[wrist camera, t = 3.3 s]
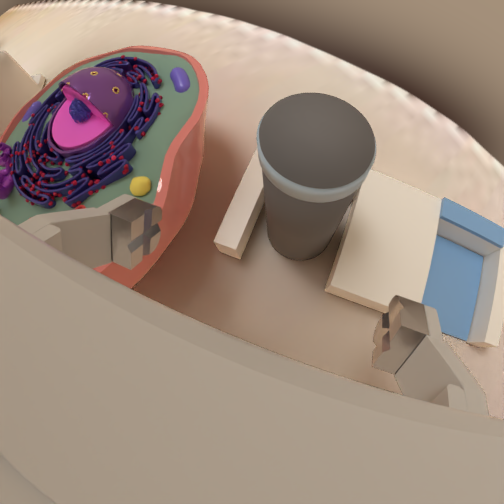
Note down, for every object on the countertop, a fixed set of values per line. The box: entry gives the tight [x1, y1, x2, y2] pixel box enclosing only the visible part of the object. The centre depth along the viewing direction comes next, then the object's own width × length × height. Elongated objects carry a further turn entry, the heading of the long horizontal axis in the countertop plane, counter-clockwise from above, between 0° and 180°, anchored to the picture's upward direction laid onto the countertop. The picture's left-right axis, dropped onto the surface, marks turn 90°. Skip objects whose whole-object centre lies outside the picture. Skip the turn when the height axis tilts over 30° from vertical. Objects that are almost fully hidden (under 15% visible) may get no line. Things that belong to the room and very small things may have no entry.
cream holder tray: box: [213, 148, 504, 347], centre depth 20 cm, size 21×8×3 cm, turn 68°
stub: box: [257, 93, 376, 260], centre depth 17 cm, size 5×5×11 cm
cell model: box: [0, 46, 209, 289], centre depth 18 cm, size 17×20×11 cm
